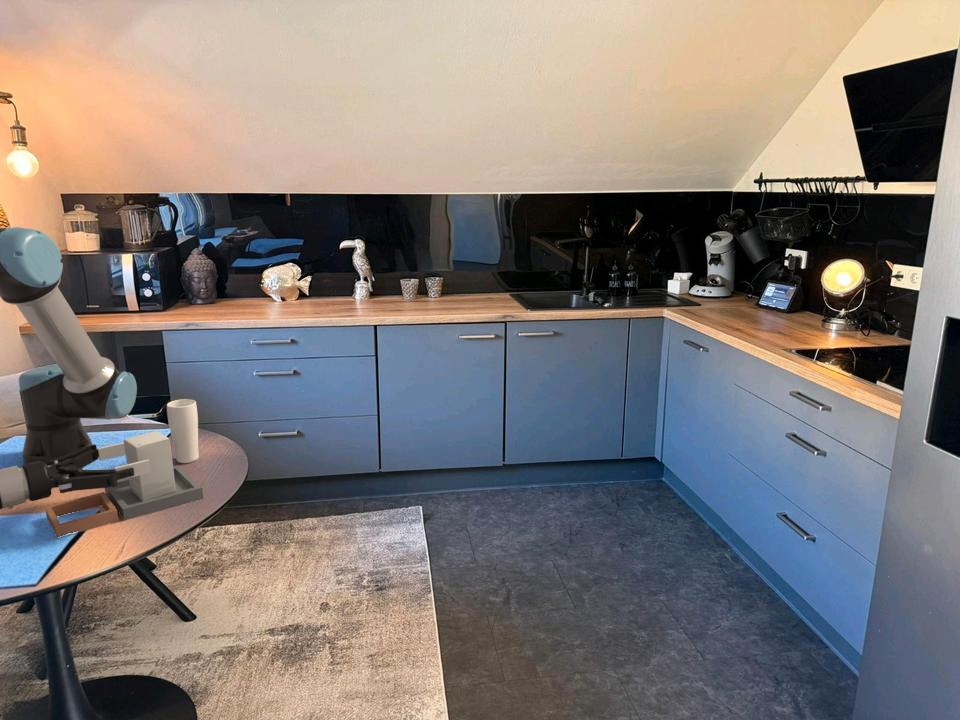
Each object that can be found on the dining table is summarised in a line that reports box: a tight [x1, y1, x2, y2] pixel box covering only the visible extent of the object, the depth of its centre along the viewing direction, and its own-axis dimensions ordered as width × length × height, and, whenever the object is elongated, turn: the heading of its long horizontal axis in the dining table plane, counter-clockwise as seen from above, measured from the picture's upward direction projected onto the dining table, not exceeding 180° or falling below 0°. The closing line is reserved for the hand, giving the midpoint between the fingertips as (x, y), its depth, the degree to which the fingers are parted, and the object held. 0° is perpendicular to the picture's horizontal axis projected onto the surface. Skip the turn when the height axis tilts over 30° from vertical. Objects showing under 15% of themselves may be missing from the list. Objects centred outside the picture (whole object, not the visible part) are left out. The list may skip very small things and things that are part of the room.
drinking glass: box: [166, 398, 200, 464], centre depth 169 cm, size 7×7×15 cm
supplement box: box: [123, 430, 176, 501], centre depth 150 cm, size 7×7×13 cm
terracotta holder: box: [44, 491, 119, 539], centre depth 141 cm, size 11×11×2 cm
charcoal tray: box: [104, 464, 204, 521], centre depth 151 cm, size 16×16×2 cm
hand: (140, 456), depth 148 cm, fingers open, 13 cm apart
